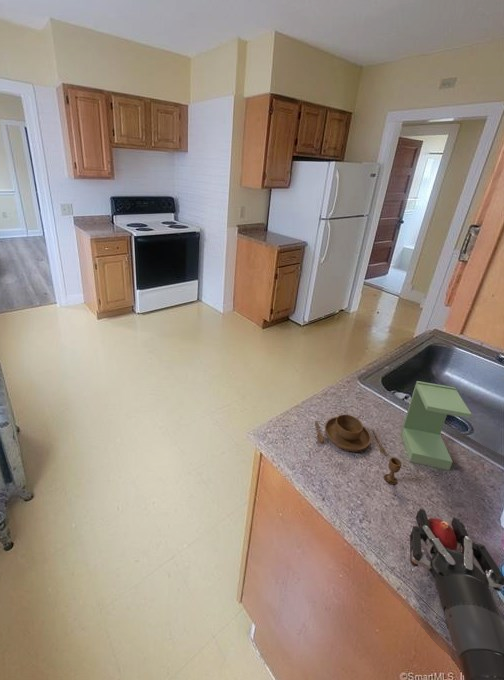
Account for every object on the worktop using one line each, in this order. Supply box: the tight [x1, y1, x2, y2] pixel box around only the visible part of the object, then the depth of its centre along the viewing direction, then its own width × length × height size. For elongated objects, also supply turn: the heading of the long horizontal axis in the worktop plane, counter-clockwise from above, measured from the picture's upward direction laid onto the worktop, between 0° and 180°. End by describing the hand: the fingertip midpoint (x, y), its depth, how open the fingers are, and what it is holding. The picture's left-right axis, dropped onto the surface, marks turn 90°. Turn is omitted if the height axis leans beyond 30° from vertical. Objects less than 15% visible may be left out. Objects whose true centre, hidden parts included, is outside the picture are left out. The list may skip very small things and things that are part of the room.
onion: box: [428, 517, 459, 551], centre depth 61 cm, size 6×6×8 cm
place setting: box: [314, 414, 403, 486], centre depth 85 cm, size 18×20×6 cm
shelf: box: [400, 380, 473, 471], centre depth 82 cm, size 10×9×18 cm
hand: (437, 516), depth 63 cm, fingers closed on onion, 5 cm apart
